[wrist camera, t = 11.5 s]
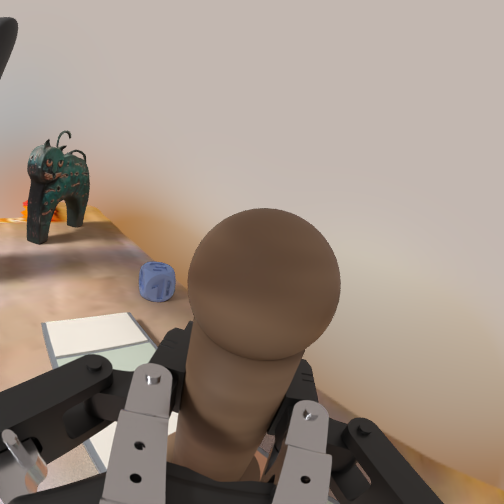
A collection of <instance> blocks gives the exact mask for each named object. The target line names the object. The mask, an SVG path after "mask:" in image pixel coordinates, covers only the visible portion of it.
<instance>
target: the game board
mask: <svg viewBox="0 0 504 504" xmlns="http://www.w3.org/2000/svg"><path fill="white" fill-rule="evenodd" d="M41 324H42V331H43V336H44V340H45V344H46V348H47V351H48V355H49V358H50V362H51V365H52V368H53V369H55V368H58V367H60V366H62V365H64V364H67V363H69V362H71V361H73V360H75V359H78V358H80V357H82V356H84V355H88V354H97V355H101V356H103V357H105V358H107V359H108V360H109V361H110V362H111V364H112V367H113V369H116V370H122V371H135V369H136V368H137V367H138V366H140V365H142V364H146V363H148V362H149V361H150V359H151V357H152V356H153V354H154V353H155V351H156V350H157V348H158V347H157V346H156V344H155V343H154V342H153V341H152V340H151V338H150V337H149V336H148V335H147V334H146V332H145V331H144V330H143V329H142V327H141V326H140V325H139V324H138V322H137V321H136V320H135V318H134V317H133V316H132V315H131V313H130V312H128V313H127V312H125V313H117V314H110V315H102V316H95V317H86V318H78V319H69V320H60V321H51V322H46V323H41ZM177 419H178V413H176V412H172V413H171V416H170V418H169V424H168V435H170V434H172V433H174V432H176V427H177ZM116 425H117V422H116V421H114V422H113V423H112V424H110V425H109V426H107V427H106V428H104V429H103V430H101V431H100V432H98V433H97V434H95V435H94V436H92V437H91V438H89V439H88V440H86V441H84V442H83V445H84V447H85V449H86V451H87V452H88V454H89V456H90V458H91V460H92V462H93V463H94V465H95V467H96V469H97V470H98V472H99V474H100V473H103V472H106V471H107V467H108V462H109V457H110V452H111V448H112V443H113V438H114V434H115V430H116ZM254 456H255V457H256V459H257V461H258V464H259V467H260V480H261V477H262V474H263V471H264V468H265V465H266V462H267V459H268V456H269V454H268V453H267V452H265V451H264V450H263V449H262V448H260V447H258V449H257V451H256V453H255V454H254ZM327 504H340V503H339V502H338V501H337V500H335V499H333V498H332V497H330V496H328V500H327Z"/></svg>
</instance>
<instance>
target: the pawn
mask: <svg viewBox="0 0 504 504" xmlns="http://www.w3.org/2000/svg"><path fill="white" fill-rule="evenodd" d="M340 284H341V282H340V272H339V267H338V263H337V259H336V257H335V255H334V252H333V250H332V248H331V247H330V245H329V243H328V242H327V240H326V239H325V238H324V237H323V235H322V234H321V233H320V232H319V231H318V230H317V229H316V228H315V227H314V226H313V225H311V224H310V223H309V222H307V221H306V220H304V219H302V218H300V217H299V216H297V215H295V214H292V213H289V212H286V211H282V210H278V209H268V208H260V209H251V210H247V211H243V212H240V213H237V214H234V215H232V216H230V217H228V218H226V219H224V220H223V221H221V222H220V223H219V224H217V225H216V226H215V227H214V228H213V229H212V230H211V231H209V232H208V234H207V235H206V236H205V237H204V238H203V240H202V241H201V242H200V244H199V246H198V247H197V249H196V251H195V253H194V256H193V258H192V261H191V264H190V269H189V273H188V296H189V302H190V305H191V309H192V311H193V314H194V321H193V326H192V332H191V337H190V343H189V349H188V354H187V360H186V372H185V378H184V384H183V391H182V397H181V404H180V410H179V413H178V419H177V427H176V432H174V433H172V434H170V435H168V439H167V457H166V461H167V462H170V463H173V464H177V465H180V466H184V467H187V468H189V469H191V470H193V471H195V472H197V473H199V474H202V475H204V476H206V477H208V478H210V479H213V480H215V481H219V482H237V481H258V482H260V467H259V464H258V461H257V459H256V457H255V456H254V454H255V453H256V451H257V449H258V447H259V445H260V444H261V442H262V440H263V438H264V436H265V434H266V432H267V430H268V428H269V426H270V424H271V422H272V420H273V418H274V416H275V414H276V412H277V410H278V408H279V406H280V404H281V402H282V400H283V398H284V396H285V394H286V392H287V390H288V388H289V386H290V383H291V381H292V379H293V377H294V375H295V372H296V370H297V368H298V366H299V363H300V361H301V359H302V356H303V354H304V352H305V349H306V348H307V347H309V346H310V345H311V344H312V343H313V342H315V341H316V340H317V339H318V338H319V337H320V336H321V335H322V334H323V332H324V331H325V330H326V328H327V327H328V326H329V324H330V322H331V320H332V318H333V316H334V314H335V311H336V308H337V305H338V302H339V297H340Z"/></svg>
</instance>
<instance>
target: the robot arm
mask: <svg viewBox="0 0 504 504" xmlns="http://www.w3.org/2000/svg"><path fill="white" fill-rule="evenodd" d="M17 33H18V23H17V21H16V20H15V19H14V18H10V17H3V18H0V79H1V76H2V74H3V72H4V69H5V67H6V64H7V62H8V60H9V57H10V55H11V52H12V50H13V47H14V44H15V41H16V38H17ZM192 326H193V321H189V323H188V324H187V326H186V328H185V330H182V329H179V328H174V329H172V330H170V331H168V332H167V334H166V335H165V337H164V339H163V340H162V342H161V343H160V345H159V346H158V348H157V350H156V351H155V353H154V354H153V356H152V357H151V359H150V361H149V362H148V363H146V364H142V365H140V366H138V367H137V368H136V369H135V371H122V370H116V369H113V367H112V364H111V362H110V361H109V360H108V359H107V358H105V357H103V356H101V355H97V354H88V355H84V356H82V357H80V358H78V359H75V360H73V361H71V362H69V363H67V364H64V365H62V366H60V367H58V368H55V369H53V370H51V371H49V372H46V373H44V374H42V375H39V376H37V377H35V378H32V379H30V380H28V381H26V382H23V383H21V384H19V385H16V386H14V387H11V388H9V389H7V390H4V391H2V392H0V498H1V500H2V501H3V503H4V504H327V500H328V492H329V487H330V489H331V490H332V492H333V494H334V495H335V497H336V498H337V500H338V502H339V503H340V504H444V503H443V502H442V501H441V500H440V499H439V498H438V496H437V495H436V494H435V493H434V492H433V491H432V490H431V488H430V487H429V486H428V485H427V484H426V483H425V482H424V480H423V479H422V478H421V477H420V476H419V475H418V473H417V472H416V471H415V470H414V469H413V468H412V467H411V465H410V464H409V463H408V462H407V461H406V460H405V458H404V457H403V456H402V455H401V454H400V453H399V451H398V450H397V449H396V448H395V447H394V445H393V444H392V443H391V442H390V441H389V440H388V438H387V437H386V436H385V435H384V434H383V432H382V431H381V430H380V429H379V428H378V427H377V425H376V424H375V423H373V422H372V421H370V420H368V419H365V418H354V419H352V420H351V421H350V422H349V423H348V424H345V423H342V422H339V421H336V420H333V419H331V418H329V414H328V412H327V410H326V409H325V408H324V407H323V406H322V405H321V404H319V403H318V397H317V392H316V387H315V383H314V378H313V373H312V369H311V366H310V365H309V364H308V362H307V361H306V360H304V359H301V361H300V363H299V366H298V368H297V370H296V372H295V375H294V377H293V379H292V381H291V383H290V386H289V388H288V390H287V392H286V394H285V396H284V398H283V400H282V402H281V404H280V406H279V408H278V410H277V412H276V414H275V416H274V418H273V420H272V422H271V424H270V426H269V428H268V430H267V434H269V435H275V442H274V443H273V445H272V447H271V450H270V453H269V456H268V459H267V462H266V465H265V468H264V471H263V474H262V477H261V480H260V482H258V481H237V482H219V481H215V480H213V479H210V478H208V477H206V476H204V475H202V474H199V473H197V472H195V471H193V470H191V469H189V468H187V467H184V466H180V465H177V464H173V463H170V462H167V461H166V457H167V439H168V424H169V418H170V416H171V413H172V412H176V413H179V410H180V404H181V397H182V391H183V384H184V378H185V372H186V360H187V354H188V349H189V343H190V337H191V332H192ZM114 421H116V422H117V425H116V430H115V434H114V438H113V443H112V448H111V452H110V457H109V462H108V467H107V471H106V472H103V473H100V474H97V475H95V476H92V477H89V478H86V479H83V480H80V481H77V482H73V483H70V484H67V485H63V486H60V487H56V488H52V489H48V490H44V491H40V492H37V487H38V485H39V484H40V483H41V482H42V481H43V480H44V479H45V478H46V476H47V464H49V463H50V462H52V461H54V460H55V459H57V458H59V457H60V456H62V455H64V454H65V453H67V452H69V451H70V450H72V449H73V448H75V447H77V446H78V445H80V444H81V443H83V442H84V441H86V440H88V439H89V438H91V437H92V436H94V435H95V434H97V433H98V432H100V431H101V430H103V429H104V428H106V427H107V426H109V425H110V424H112V423H113V422H114ZM357 462H359V464H360V465H361V466H362V468H363V469H364V471H365V472H366V473H367V475H368V476H369V477H370V479H371V485H370V483H369V482H368V481H367V479H366V478H365V477H364V475H363V474H362V472H361V471H360V470H359V468H358V467H357V466H356V463H357Z"/></svg>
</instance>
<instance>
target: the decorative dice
mask: <svg viewBox="0 0 504 504" xmlns="http://www.w3.org/2000/svg"><path fill="white" fill-rule="evenodd" d="M175 284H176V279H175V272H174V270H173V268H172V267H171V266H170V265H168V264H165V263H161V262H147V263H145V264H144V265H143V266H142V267H141V269H140V273H139V290H140V294H141V296H142V297H143V298H145V299H147V300H149V301H153V302H163V301H166V300H168V299H169V298H171V297H172V295H173V294H174V291H175Z"/></svg>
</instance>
